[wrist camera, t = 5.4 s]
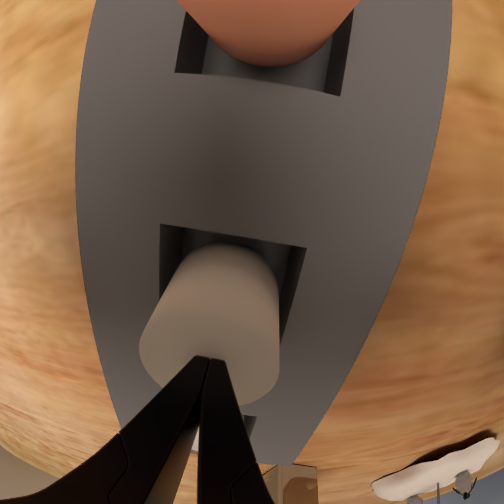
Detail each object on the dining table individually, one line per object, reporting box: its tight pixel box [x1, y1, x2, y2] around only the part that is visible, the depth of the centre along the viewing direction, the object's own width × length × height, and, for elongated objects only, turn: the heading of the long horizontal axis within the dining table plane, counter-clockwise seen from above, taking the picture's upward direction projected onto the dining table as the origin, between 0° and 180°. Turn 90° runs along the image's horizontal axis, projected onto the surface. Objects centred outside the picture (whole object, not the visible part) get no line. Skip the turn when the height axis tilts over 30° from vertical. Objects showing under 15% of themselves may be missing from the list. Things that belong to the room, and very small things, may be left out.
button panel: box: [75, 0, 452, 465], centre depth 13 cm, size 28×12×4 cm, turn 171°
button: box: [139, 242, 280, 406], centre depth 10 cm, size 4×4×4 cm
